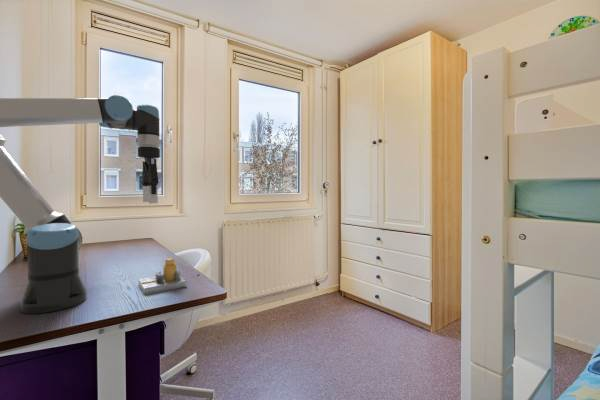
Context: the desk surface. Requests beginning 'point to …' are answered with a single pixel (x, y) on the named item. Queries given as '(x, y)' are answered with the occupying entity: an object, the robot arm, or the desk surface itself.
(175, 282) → the junction plate
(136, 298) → the desk surface
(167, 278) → the beige block
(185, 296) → the desk surface
